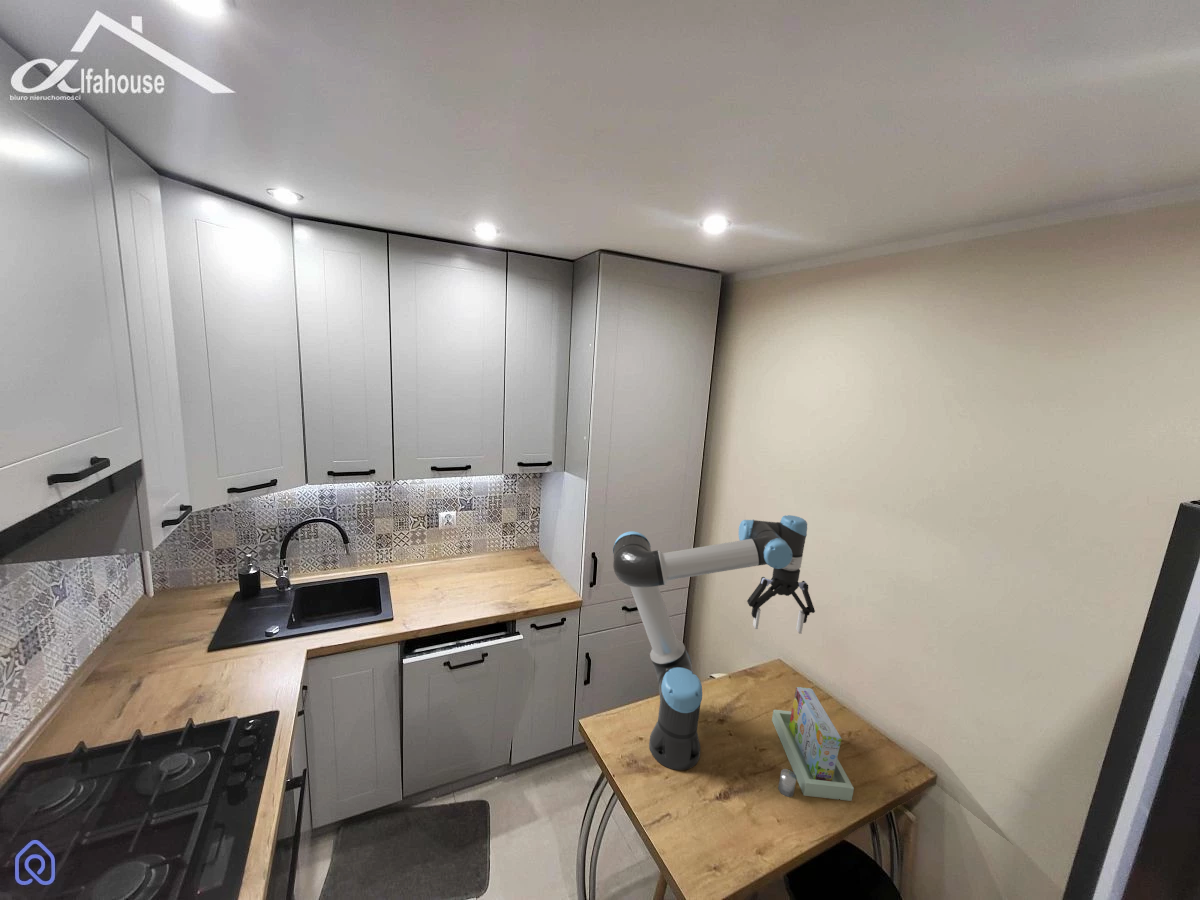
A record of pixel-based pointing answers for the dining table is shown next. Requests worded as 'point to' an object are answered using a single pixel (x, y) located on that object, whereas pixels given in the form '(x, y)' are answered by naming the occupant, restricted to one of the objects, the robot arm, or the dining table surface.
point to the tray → (809, 786)
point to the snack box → (814, 734)
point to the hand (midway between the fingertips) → (776, 629)
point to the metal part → (787, 782)
